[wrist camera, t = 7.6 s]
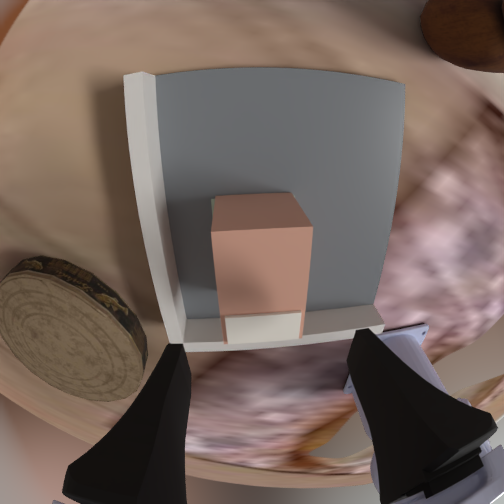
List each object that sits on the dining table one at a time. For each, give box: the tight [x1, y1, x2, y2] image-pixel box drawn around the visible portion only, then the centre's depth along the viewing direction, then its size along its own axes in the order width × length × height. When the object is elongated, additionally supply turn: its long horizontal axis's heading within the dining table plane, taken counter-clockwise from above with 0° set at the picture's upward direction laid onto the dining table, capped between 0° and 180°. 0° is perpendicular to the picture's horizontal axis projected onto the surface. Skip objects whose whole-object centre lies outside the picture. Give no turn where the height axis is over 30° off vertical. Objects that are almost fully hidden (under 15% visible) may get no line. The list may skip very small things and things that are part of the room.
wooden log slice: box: [0, 256, 148, 402], centre depth 21 cm, size 16×16×3 cm
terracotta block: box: [211, 193, 313, 344], centre depth 16 cm, size 4×7×5 cm, turn 1°
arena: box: [124, 67, 405, 352], centre depth 17 cm, size 18×16×3 cm
